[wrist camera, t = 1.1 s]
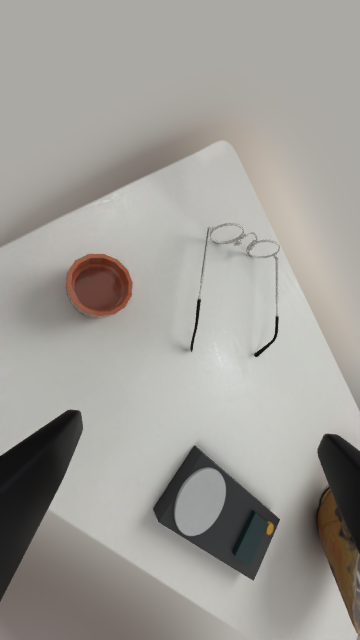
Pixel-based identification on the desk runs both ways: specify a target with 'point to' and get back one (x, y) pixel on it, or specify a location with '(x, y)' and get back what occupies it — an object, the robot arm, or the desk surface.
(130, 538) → the desk surface
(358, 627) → the bowl
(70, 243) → the desk surface
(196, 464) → the scale
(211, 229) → the eyeglasses
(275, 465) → the desk surface
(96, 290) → the terracotta cup
